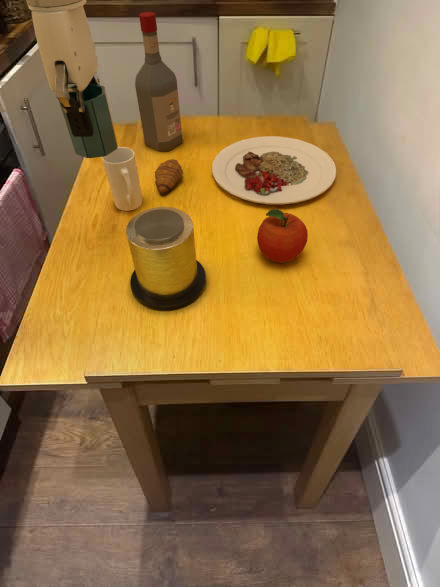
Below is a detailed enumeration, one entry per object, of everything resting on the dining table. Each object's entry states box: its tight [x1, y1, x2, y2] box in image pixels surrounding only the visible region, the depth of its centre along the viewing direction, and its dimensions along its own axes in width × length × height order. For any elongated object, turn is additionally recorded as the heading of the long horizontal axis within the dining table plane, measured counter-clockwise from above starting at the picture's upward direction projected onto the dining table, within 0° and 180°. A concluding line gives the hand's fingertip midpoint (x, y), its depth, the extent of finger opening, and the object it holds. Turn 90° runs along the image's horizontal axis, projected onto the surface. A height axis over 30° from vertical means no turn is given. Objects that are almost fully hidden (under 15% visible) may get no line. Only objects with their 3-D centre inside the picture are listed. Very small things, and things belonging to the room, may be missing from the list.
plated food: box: [211, 135, 337, 205], centre depth 99 cm, size 30×30×3 cm
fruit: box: [256, 208, 309, 264], centre depth 77 cm, size 10×10×10 cm
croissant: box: [154, 158, 183, 196], centre depth 97 cm, size 14×7×5 cm, turn 172°
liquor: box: [134, 11, 183, 153], centre depth 101 cm, size 9×9×30 cm
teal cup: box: [58, 83, 119, 159], centre depth 66 cm, size 7×7×9 cm
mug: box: [101, 146, 143, 212], centre depth 88 cm, size 10×7×12 cm, turn 23°
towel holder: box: [125, 206, 207, 312], centre depth 71 cm, size 14×14×14 cm
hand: (90, 122), depth 66 cm, fingers closed on teal cup, 7 cm apart
